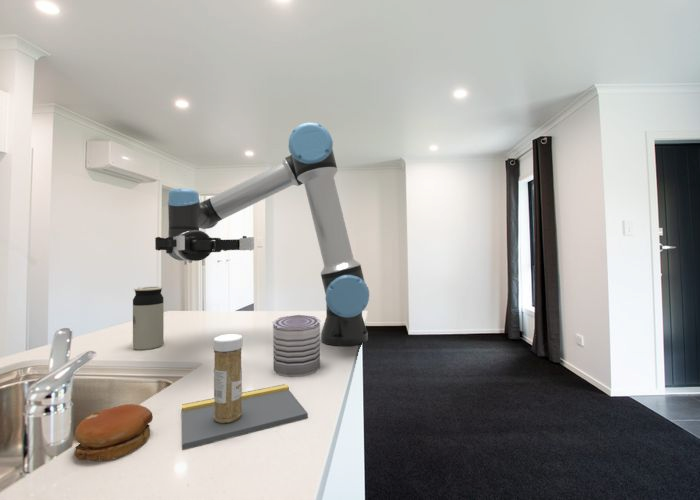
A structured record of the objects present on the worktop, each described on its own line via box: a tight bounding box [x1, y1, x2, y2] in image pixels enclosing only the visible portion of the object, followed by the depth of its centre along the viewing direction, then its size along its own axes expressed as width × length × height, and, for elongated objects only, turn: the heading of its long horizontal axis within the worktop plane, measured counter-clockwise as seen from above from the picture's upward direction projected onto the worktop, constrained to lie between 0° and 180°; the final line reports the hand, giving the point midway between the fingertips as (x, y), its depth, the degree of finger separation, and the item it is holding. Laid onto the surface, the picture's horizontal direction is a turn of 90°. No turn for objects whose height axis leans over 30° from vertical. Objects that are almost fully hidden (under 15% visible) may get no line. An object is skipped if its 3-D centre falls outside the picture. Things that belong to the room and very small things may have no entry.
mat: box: [181, 383, 309, 450], centre depth 57 cm, size 19×14×1 cm
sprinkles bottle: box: [212, 333, 244, 423], centre depth 54 cm, size 5×5×14 cm
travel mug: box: [132, 286, 165, 351], centre depth 99 cm, size 8×8×18 cm
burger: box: [74, 403, 154, 462], centre depth 48 cm, size 10×9×5 cm
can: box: [271, 314, 322, 378], centre depth 79 cm, size 11×11×12 cm
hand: (219, 243), depth 65 cm, fingers open, 13 cm apart
